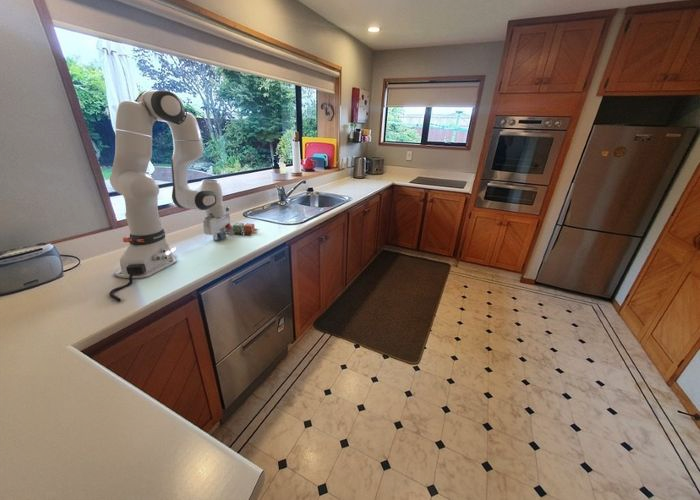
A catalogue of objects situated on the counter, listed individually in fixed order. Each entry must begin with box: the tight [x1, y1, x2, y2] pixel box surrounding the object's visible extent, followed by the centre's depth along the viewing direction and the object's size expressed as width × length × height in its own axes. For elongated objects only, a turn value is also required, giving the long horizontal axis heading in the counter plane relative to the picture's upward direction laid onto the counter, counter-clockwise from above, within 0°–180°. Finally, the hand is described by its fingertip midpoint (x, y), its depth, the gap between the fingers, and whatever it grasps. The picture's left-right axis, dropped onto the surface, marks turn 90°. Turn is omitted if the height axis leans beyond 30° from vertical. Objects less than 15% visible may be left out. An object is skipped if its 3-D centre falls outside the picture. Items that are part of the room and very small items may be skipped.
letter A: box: [232, 222, 245, 233], centre depth 158 cm, size 4×4×4 cm
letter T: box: [212, 230, 227, 242], centre depth 147 cm, size 4×4×4 cm
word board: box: [225, 226, 258, 237], centre depth 159 cm, size 12×17×1 cm
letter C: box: [244, 223, 256, 235], centre depth 157 cm, size 4×4×4 cm
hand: (219, 236), depth 147 cm, fingers open, 5 cm apart
